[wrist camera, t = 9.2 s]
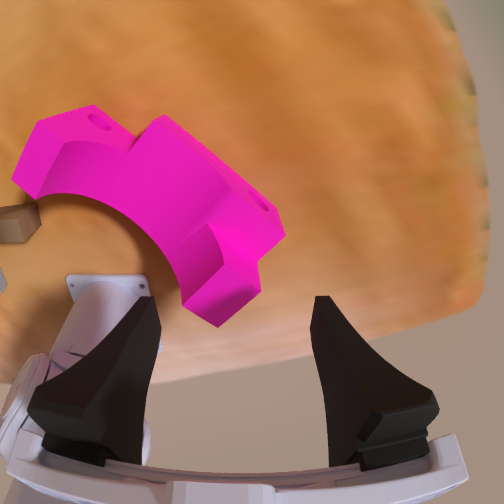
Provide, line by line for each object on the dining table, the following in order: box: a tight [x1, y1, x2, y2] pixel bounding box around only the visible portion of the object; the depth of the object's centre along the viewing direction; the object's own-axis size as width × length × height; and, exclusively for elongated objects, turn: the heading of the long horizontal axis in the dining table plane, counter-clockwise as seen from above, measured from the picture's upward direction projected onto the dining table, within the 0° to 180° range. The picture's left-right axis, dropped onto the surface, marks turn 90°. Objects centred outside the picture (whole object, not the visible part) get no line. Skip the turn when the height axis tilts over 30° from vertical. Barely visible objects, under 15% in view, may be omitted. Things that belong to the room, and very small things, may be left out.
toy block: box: [11, 105, 286, 328], centre depth 18 cm, size 15×6×8 cm, turn 47°
